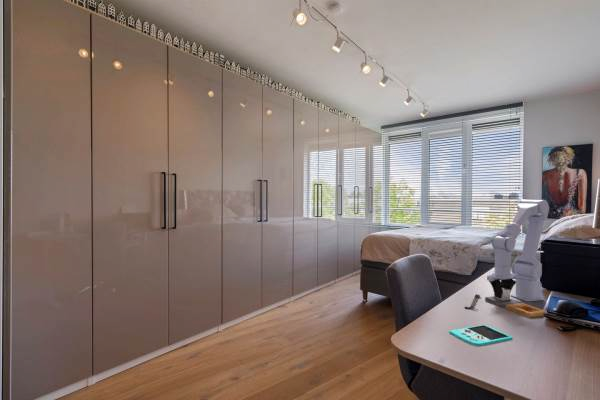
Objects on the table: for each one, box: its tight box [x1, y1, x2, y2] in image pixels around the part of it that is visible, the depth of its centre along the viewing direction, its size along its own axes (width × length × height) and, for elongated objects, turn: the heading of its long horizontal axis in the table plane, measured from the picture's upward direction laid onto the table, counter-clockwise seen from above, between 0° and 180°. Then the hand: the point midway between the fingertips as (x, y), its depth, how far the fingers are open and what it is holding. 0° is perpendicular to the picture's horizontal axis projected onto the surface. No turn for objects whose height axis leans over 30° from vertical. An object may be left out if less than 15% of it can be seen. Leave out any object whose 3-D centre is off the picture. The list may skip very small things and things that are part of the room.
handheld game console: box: [448, 324, 513, 347], centre depth 97 cm, size 10×16×1 cm, turn 109°
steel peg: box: [493, 287, 511, 302], centre depth 128 cm, size 4×4×6 cm
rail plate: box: [484, 295, 546, 319], centre depth 122 cm, size 9×19×2 cm, turn 16°
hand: (502, 296), depth 128 cm, fingers closed on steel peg, 4 cm apart
